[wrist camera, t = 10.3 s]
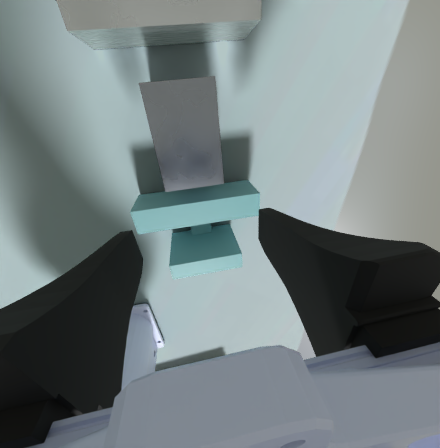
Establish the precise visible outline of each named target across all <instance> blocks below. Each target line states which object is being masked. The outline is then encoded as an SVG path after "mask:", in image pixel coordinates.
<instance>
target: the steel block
mask: <svg viewBox="0 0 440 448" xmlns="http://www.w3.org/2000/svg"><path fill="white" fill-rule="evenodd" d="M139 86H140V90H141V94H142V98H143V102H144V106H145V110H146V114H147V119H148V123H149V127H150V131H151V135H152V139H153V143H154V147H155V151H156V155H157V159H158V163H159V167H160V171H161V175H162V179H163V184H164V188H165V192H170V191H177V190H184V189H191V188H198V187H205V186H212V185H219V184H224V177H223V165H222V153H221V141H220V129H219V117H218V105H217V93H216V81H215V76H211V77H200V78H189V79H178V80H167V81H156V82H145V83H139Z"/></svg>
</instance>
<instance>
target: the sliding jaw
mask: <svg viewBox="0 0 440 448" xmlns="http://www.w3.org/2000/svg"><path fill="white" fill-rule="evenodd" d="M259 209H260V193H259V192H258V191H257V190H256V189H255V187H254V186H253V185H252V184H251V183H250V182H249V181H248V180H243V181H236V182H229V183H224V184H219V185H212V186H205V187H198V188H191V189H184V190H177V191H170V192H165V191H164V192H157V193H149V194H142V195H139V196H138V198H137V200H136V202H135V204H134V206H133V208H132V210H131V212H130V213H131V216H132V219H133V221H134V224H135V227H136V230H137V233H138V234H145V233H151V232H157V231H164V230H170V229H176V228H183V227H189V226H190V227H191V230H189V231H183V232H176V233H172V241H171V252H170V264H169V267H170V270H171V274H172V277H173V280H174V279H179V278H185V277H190V276H196V275H201V274H207V273H212V272H218V271H223V270H229V269H234V268H240V267H242V253H241V250H240V248H239V245H238V243H237V241H236V238H235V236H234V233H233V231H232V229H231V226H230V224H227V225H220V226H214V227H211V223H214V222H221V221H227V220H233V219H240V218H246V217H252V216H259Z"/></svg>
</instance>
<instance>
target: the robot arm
mask: <svg viewBox="0 0 440 448" xmlns="http://www.w3.org/2000/svg"><path fill="white" fill-rule="evenodd" d="M259 241H260V243H261V246H262V248H263V250H264V252H265V254H266V255H267V257H268V259H269V260H270V262H271V264H272V265H273V267H274V268H275V270H276V272H277V273H278V275H279V276H280V278H281V280H282V281H283V283H284V285H285V287H286V288H287V291H288V293H289V295H290V297H291V299H292V301H293V303H294V305H295V307H296V310H297V312H298V314H299V316H300V319H301V321H302V323H303V326H304V328H305V330H306V333H307V335H308V337H309V340H310V342H311V345H312V347H313V350H314V352H315V354H316V357H314V358H310V359H306V360H303V358H302V356H301V354H300V353H299V352H297V351H295V350H292V349H289V348H287V347H284V346H281V345H278V346H266V347H258V348H254V349H249V350H245V351H241V352H237V353H232V354H228V355H224V356H219V357H215V358H211V359H207V360H202V361H198V362H194V363H190V364H185V365H181V366H177V367H172V368H168V369H164V370H160V371H155V367H156V357H157V348H161V347H163V346H164V340H163V338H162V336H161V333H160V331H159V329H158V326H157V324H156V321H155V319H154V317H153V314H152V312H151V309H150V307H149V305H148V304H139V305H134V301H135V297H136V293H137V290H138V286H139V282H140V278H141V274H142V265H143V258H142V255H141V252H140V250H139V247H138V245H137V242H136V239H135V237H134V234H133V232H132V230H131V231H125V232H120V233H119V234H117V235H116V236H114V237H113V238H112V239H110V240H109V241H108V242H107V243H105V244H104V245H103V246H102V247H100V248H99V249H98V250H97V251H95V252H94V253H93V254H92V255H90V256H89V257H88V258H86V259H85V260H83V261H82V262H81V263H79V264H78V265H77V266H75V267H74V268H72V269H71V270H70V271H68V272H67V273H65V274H63V275H62V276H60V277H59V278H57V279H55V280H54V281H52V282H51V283H49V284H47V285H45V286H44V287H42V288H40V289H38V290H36V291H35V292H33V293H31V294H29V295H27V296H26V297H24V298H22V299H20V300H18V301H16V302H14V303H12V304H10V305H8V306H6V307H4V308H2V309H0V448H440V310H439V309H438V308H439V307H440V302H439V301H438V300H437V299H435V298H434V297H433V296H431V295H432V294H433V292H434V291H435V289H436V288H437V286H438V285H439V283H440V252H438V251H436V250H434V249H432V248H431V247H429V246H427V245H425V244H423V243H419V242H407V241H394V240H383V239H375V238H367V237H361V236H355V235H350V234H345V233H340V232H336V231H332V230H328V229H325V228H321V227H318V226H315V225H312V224H309V223H306V222H303V221H301V220H298V219H296V218H293V217H291V216H288V215H286V214H284V213H281V212H279V211H276V210H274V209H271V208H265V209H259ZM133 305H134V306H133Z"/></svg>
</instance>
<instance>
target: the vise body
mask: <svg viewBox="0 0 440 448" xmlns="http://www.w3.org/2000/svg"><path fill="white" fill-rule="evenodd" d="M56 1H57V3H58V6H59V9H60V12H61V15H62V17H63V20H64V23H65V26H66V29H67V31H68V32H69V33H71V34H72V35H74V36H75V37H77V38H78V39H80V40H81V41H83V42H84V43H85V44H87V45H88V46H90V47H91V48H93V49H94V50H97V49H112V48H127V47H141V46H156V45H171V44H186V43H200V42H215V41H230V40H244V39H245V38H246V37H247V36H248V34H249V33H250V32H251V31H252V30H253V29H254V27H255V26H256V25H257V24H258V23H259V22H260V21H261V0H56Z"/></svg>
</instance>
